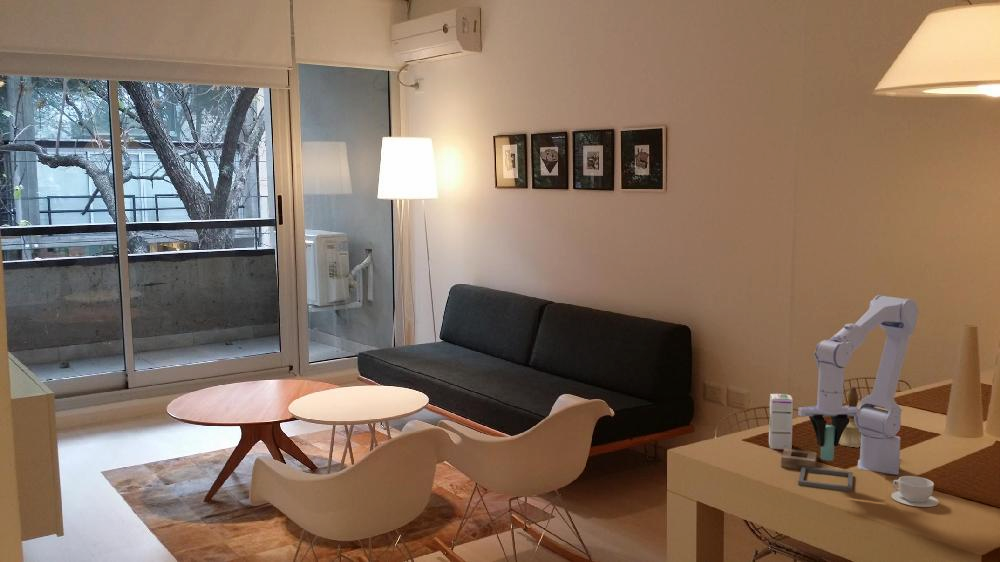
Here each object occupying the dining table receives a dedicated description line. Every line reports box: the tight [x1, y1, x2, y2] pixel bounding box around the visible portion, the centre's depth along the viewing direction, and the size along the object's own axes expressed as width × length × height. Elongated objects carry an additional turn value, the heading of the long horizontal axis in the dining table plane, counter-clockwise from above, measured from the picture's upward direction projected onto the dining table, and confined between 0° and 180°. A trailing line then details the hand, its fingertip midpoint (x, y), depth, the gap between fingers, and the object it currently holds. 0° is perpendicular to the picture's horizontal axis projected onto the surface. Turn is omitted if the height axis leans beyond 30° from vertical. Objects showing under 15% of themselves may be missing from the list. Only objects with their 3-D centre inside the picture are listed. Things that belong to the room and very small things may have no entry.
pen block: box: [780, 448, 818, 470], centre depth 228 cm, size 8×8×3 cm
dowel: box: [819, 424, 835, 462], centre depth 215 cm, size 3×3×8 cm
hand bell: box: [839, 386, 861, 449], centre depth 246 cm, size 8×8×16 cm
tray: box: [797, 466, 854, 493], centre depth 216 cm, size 12×12×1 cm
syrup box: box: [768, 393, 794, 450], centre depth 242 cm, size 6×6×14 cm
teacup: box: [890, 475, 940, 508], centre depth 204 cm, size 10×10×5 cm
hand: (827, 445), depth 215 cm, fingers closed on dowel, 3 cm apart
